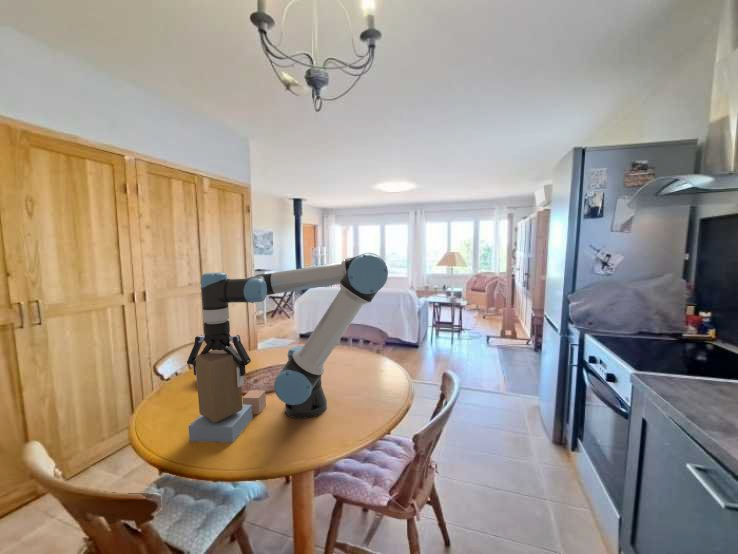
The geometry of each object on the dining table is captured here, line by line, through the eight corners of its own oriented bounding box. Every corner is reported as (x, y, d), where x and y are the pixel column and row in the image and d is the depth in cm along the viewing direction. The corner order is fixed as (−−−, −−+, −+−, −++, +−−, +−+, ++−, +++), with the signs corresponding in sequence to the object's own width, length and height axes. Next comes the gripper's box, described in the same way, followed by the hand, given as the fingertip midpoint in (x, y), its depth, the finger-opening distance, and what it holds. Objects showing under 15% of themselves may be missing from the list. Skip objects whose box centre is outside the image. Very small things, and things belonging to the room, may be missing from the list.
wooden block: (227, 402, 113) (223, 346, 110) (243, 410, 107) (240, 352, 105) (198, 414, 104) (193, 355, 102) (214, 424, 99) (210, 361, 97)
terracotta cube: (266, 405, 122) (265, 390, 121) (259, 414, 116) (258, 398, 115) (250, 405, 122) (249, 390, 122) (243, 413, 117) (242, 397, 116)
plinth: (252, 418, 113) (251, 404, 113) (232, 442, 99) (232, 427, 99) (214, 417, 114) (213, 403, 114) (189, 441, 100) (188, 425, 100)
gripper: (259, 318, 106) (262, 380, 108) (186, 318, 108) (191, 379, 110) (249, 324, 98) (252, 390, 100) (171, 323, 100) (176, 389, 102)
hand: (220, 385), depth 105 cm, fingers closed on wooden block, 13 cm apart
